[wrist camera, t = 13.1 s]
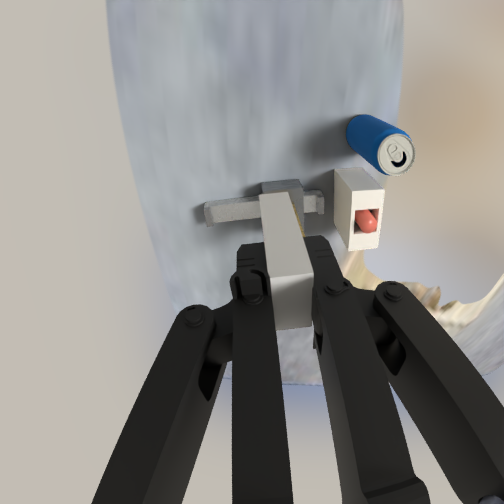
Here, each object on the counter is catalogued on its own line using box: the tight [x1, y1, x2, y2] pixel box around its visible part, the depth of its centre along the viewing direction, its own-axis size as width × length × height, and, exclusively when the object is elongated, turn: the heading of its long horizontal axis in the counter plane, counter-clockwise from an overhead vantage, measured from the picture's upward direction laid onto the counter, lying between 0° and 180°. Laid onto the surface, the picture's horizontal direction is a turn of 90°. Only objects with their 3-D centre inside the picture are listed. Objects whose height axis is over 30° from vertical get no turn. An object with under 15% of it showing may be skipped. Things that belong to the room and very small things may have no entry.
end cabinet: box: [334, 168, 385, 251], centre depth 44 cm, size 10×5×9 cm, turn 7°
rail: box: [203, 190, 324, 227], centre depth 47 cm, size 3×19×3 cm, turn 97°
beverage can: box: [346, 115, 416, 176], centre depth 37 cm, size 6×6×12 cm
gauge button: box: [355, 209, 377, 233], centre depth 43 cm, size 3×3×8 cm
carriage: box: [261, 179, 305, 237], centre depth 42 cm, size 8×6×15 cm
